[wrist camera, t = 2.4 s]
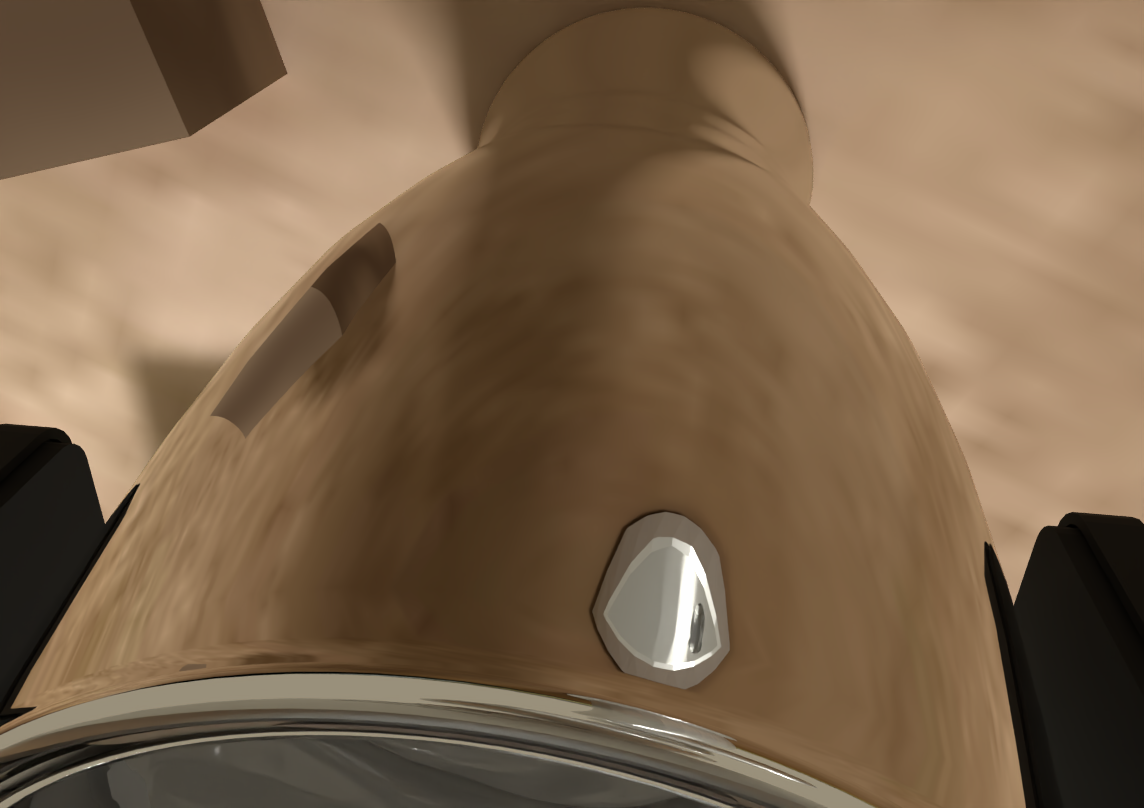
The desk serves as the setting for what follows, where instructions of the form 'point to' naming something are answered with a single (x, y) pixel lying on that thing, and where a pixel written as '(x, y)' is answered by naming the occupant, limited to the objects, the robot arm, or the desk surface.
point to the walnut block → (123, 74)
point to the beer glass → (555, 501)
